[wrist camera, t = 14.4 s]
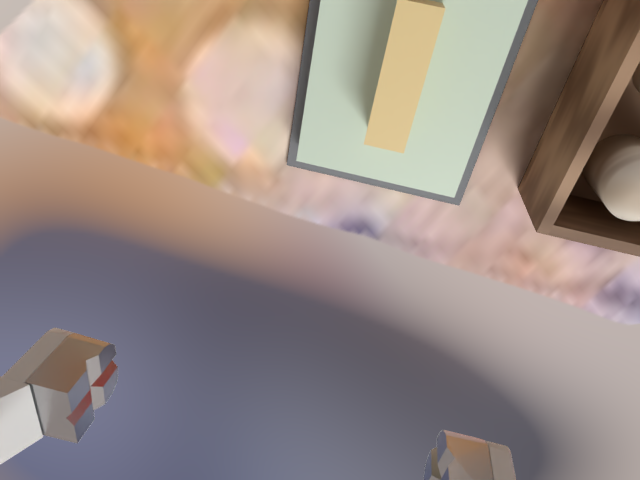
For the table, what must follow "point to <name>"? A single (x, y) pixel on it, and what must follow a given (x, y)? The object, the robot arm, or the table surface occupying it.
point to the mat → (292, 157)
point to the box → (594, 142)
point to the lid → (404, 86)
